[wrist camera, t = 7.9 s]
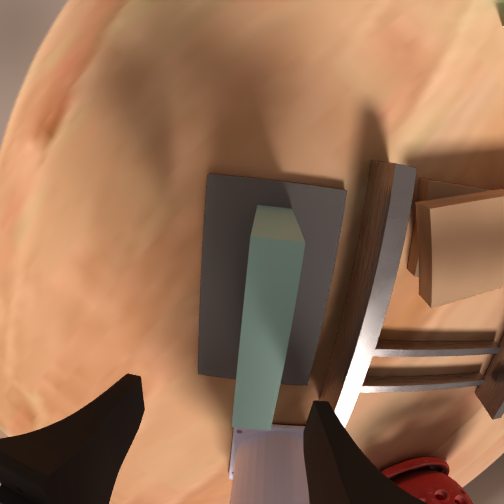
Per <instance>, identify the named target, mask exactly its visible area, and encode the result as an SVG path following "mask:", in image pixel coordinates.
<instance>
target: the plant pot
mask: <svg viewBox="0 0 504 504" xmlns="http://www.w3.org/2000/svg"><path fill="white" fill-rule="evenodd" d="M381 472H382V473H383V474H384V475H385V476H386V477H387V478H389V479H390V480H391V481H392V482H394V483H395V484H396V485H397V486H399V487H400V488H402V489H403V490H405V491H406V492H408V493H409V494H411V495H412V496H414V497H416V498H418V499H420V500H422V501H423V502H425V503H427V504H455V503H456V504H473V503H472V501H471V500H470V498H469V496H468V495H467V493H466V492H465V491H464V490H463V488H462V487H461V486H460V485H459V484H458V483H457V482H456V481H454V480H453V479H452V478H450V477H449V476H448V474H449V466H448V464H447V462H445V461H444V460H442V459H440V458H436V457H421V458H416V459H411V460H408V461H404V462H402V463H399V464H396V465H394V466H391V467H389V468H387V469H385V470H383V471H381Z"/></svg>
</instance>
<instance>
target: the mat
mask: <svg viewBox="0 0 504 504" xmlns="http://www.w3.org/2000/svg"><path fill="white" fill-rule="evenodd" d="M346 195H347V190H345V189H339V188H332V187H325V186H318V185H310V184H303V183H295V182H287V181H278V180H270V179H261V178H251V177H241V176H230V175H219V174H208V175H207V188H206V201H205V215H204V231H203V247H202V266H201V287H200V313H199V350H198V374H201V375H207V376H214V377H222V378H230V379H236V375H237V365H238V355H239V345H240V335H241V325H242V315H243V305H244V295H245V285H246V276H247V266H248V256H249V246H250V236H251V232H252V227H253V222H254V218H255V213H256V209H257V205H264V206H273V207H282V208H290V209H293V212H294V214H295V217H296V219H297V222H298V224H299V227H300V230H301V232H302V235H303V237H304V240H305V249H304V255H303V262H302V268H301V274H300V280H299V286H298V292H297V298H296V304H295V310H294V315H293V321H292V326H291V332H290V337H289V343H288V348H287V353H286V358H285V363H284V369H283V374H282V379H281V383H280V384H290V385H306V386H307V385H308V381H309V377H310V373H311V369H312V365H313V362H314V357H315V353H316V349H317V345H318V341H319V337H320V332H321V328H322V324H323V319H324V315H325V310H326V305H327V301H328V296H329V291H330V286H331V281H332V276H333V271H334V266H335V261H336V255H337V250H338V244H339V238H340V233H341V227H342V221H343V214H344V208H345V201H346Z"/></svg>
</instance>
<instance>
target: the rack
mask: <svg viewBox="0 0 504 504" xmlns="http://www.w3.org/2000/svg"><path fill="white" fill-rule="evenodd" d="M416 172H417V168H414V167H410V166H405V165H401V164H396V163H389V162H381V161H373V160H371V166H370V174H369V181H368V188H367V194H366V201H365V207H364V213H363V219H362V225H361V230H360V236H359V241H358V246H357V252H356V257H355V262H354V267H353V271H352V276H351V281H350V285H349V290H348V294H347V298H346V303H345V307H344V311H343V315H342V319H341V323H340V327H339V331H338V335H337V339H336V343H335V347H334V350H333V354H332V358H331V361H330V365H329V368H328V372H327V375H326V379H325V382H324V385H323V389H322V392H321V395H320V398H319V401H328V402H329V403H330V405H331V406H332V408H333V410H334V412H335V413H336V415H337V417H338V418H339V420H340V422H341V423H342V425H343V426H344V428H345V427H346V424H347V422H348V419H349V417H350V415H351V412H352V410H353V407H354V405H355V402H356V400H357V397H358V395H359V392H405V391H424V390H439V389H451V388H461V387H470V386H478V388H477V390H476V392H475V394H476V395H477V397H478V398H479V400H480V401H481V403H482V404H483V406H484V407H485V409H486V410H487V412H488V413H489V415H490V417H491V418H492V419H497V418H501V417H502V415H503V413H504V334H503V336H502V339H501V341H500V343H499V345H498V344H497V343H496V342H495V340H493V341H389V340H378V338H379V335H380V332H381V329H382V325H383V322H384V319H385V315H386V312H387V308H388V305H389V301H390V298H391V294H392V290H393V286H394V283H395V279H396V275H397V271H398V267H399V262H400V258H401V254H402V249H403V245H404V240H405V235H406V230H407V225H408V220H409V215H410V210H411V204H412V198H413V192H414V186H415V179H416ZM483 354H494V356H493V359H492V361H491V363H490V365H489V367H488V369H487V371H486V373H485V375H484V377H483V376H482V374H481V373H480V372H476V373H465V374H451V375H433V376H405V377H365V376H366V373H367V371H368V368H369V365H370V362H371V359H372V356H391V357H429V356H464V355H483Z"/></svg>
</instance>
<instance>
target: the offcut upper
mask: <svg viewBox="0 0 504 504" xmlns="http://www.w3.org/2000/svg"><path fill="white" fill-rule="evenodd" d="M415 206H416V219H417V234H418V256H419V295H420V296H421V297H422V298H423V299H424V300H425V301H426V303H427V304H428V305H429V306H430V307H431V308H433V307H437V306H441V305H444V304H448V303H452V302H455V301H459V300H462V299H465V298H469V297H472V296H476V295H479V294H482V293H485V292H488V291H492V290H495V289H498V288H501V287H504V189H497V190H490V191H484V192H477V193H470V194H464V195H458V196H451V197H445V198H439V199H433V200H426V201H420V202H415Z"/></svg>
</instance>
